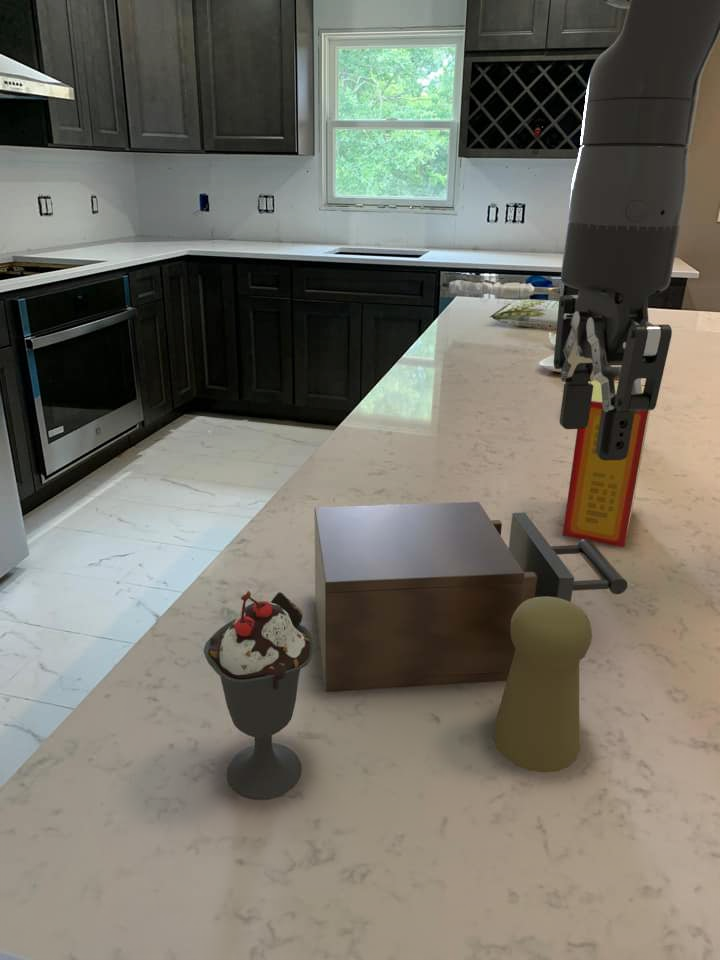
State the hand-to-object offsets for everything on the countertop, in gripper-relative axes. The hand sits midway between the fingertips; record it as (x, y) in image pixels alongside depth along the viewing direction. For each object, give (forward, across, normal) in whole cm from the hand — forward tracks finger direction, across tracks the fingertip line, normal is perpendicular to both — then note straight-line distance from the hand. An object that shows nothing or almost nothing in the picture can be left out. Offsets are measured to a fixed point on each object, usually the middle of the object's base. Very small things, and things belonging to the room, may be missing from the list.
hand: (590, 441), depth 57 cm
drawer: (+17, 0, +6) cm, 18 cm away
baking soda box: (+18, +20, -12) cm, 29 cm away
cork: (+18, -13, +7) cm, 23 cm away
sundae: (+18, -14, +26) cm, 35 cm away
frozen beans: (+18, +138, -48) cm, 147 cm away
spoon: (+18, +98, -38) cm, 107 cm away
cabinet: (+18, 0, +14) cm, 23 cm away
